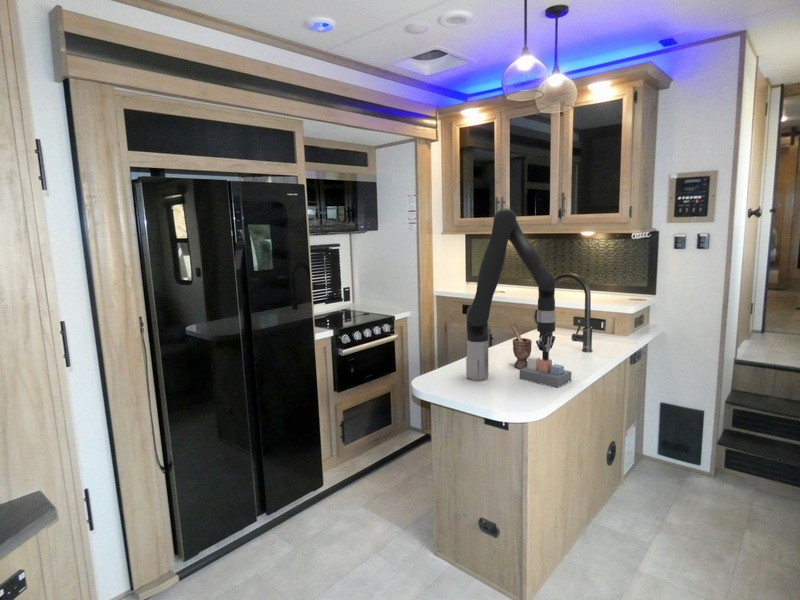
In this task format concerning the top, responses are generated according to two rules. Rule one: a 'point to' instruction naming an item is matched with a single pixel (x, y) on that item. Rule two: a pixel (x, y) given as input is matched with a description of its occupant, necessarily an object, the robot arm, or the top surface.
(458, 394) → the top surface
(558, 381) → the grey flat block
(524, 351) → the mortar and pestle
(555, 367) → the slate-blue key
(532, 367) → the white key
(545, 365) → the coral key
